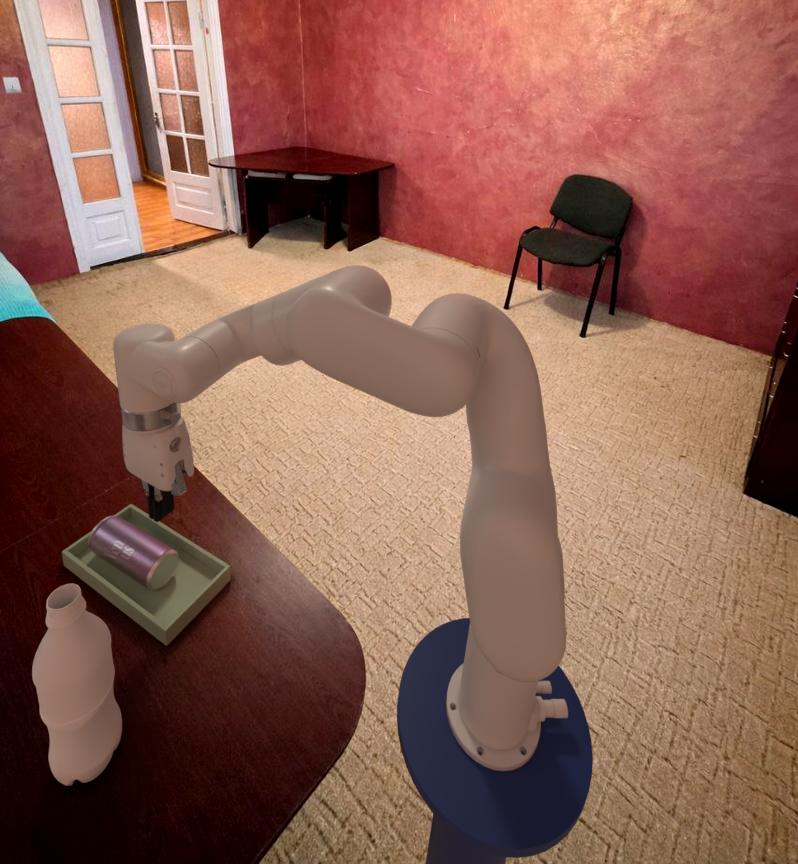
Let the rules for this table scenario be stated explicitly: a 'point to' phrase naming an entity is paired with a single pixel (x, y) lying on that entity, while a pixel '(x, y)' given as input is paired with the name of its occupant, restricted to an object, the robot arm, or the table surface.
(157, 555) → the beverage can
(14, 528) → the table surface
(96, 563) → the tray
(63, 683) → the water bottle
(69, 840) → the table surface
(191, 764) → the table surface
